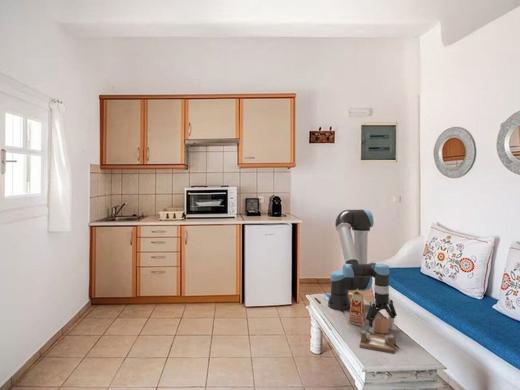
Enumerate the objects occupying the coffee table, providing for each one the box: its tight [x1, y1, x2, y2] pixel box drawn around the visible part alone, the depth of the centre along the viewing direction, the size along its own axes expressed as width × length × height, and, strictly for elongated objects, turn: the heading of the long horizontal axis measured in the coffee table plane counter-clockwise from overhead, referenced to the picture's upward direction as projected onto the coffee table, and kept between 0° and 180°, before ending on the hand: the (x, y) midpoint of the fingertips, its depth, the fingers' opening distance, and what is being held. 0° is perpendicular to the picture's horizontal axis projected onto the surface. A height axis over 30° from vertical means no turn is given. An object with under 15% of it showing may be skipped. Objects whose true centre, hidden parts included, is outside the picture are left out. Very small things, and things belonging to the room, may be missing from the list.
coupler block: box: [374, 316, 389, 335], centre depth 187 cm, size 5×5×7 cm
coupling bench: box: [359, 329, 396, 354], centre depth 172 cm, size 16×16×6 cm
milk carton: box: [347, 289, 367, 327], centre depth 199 cm, size 9×9×20 cm
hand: (381, 330), depth 187 cm, fingers open, 12 cm apart
